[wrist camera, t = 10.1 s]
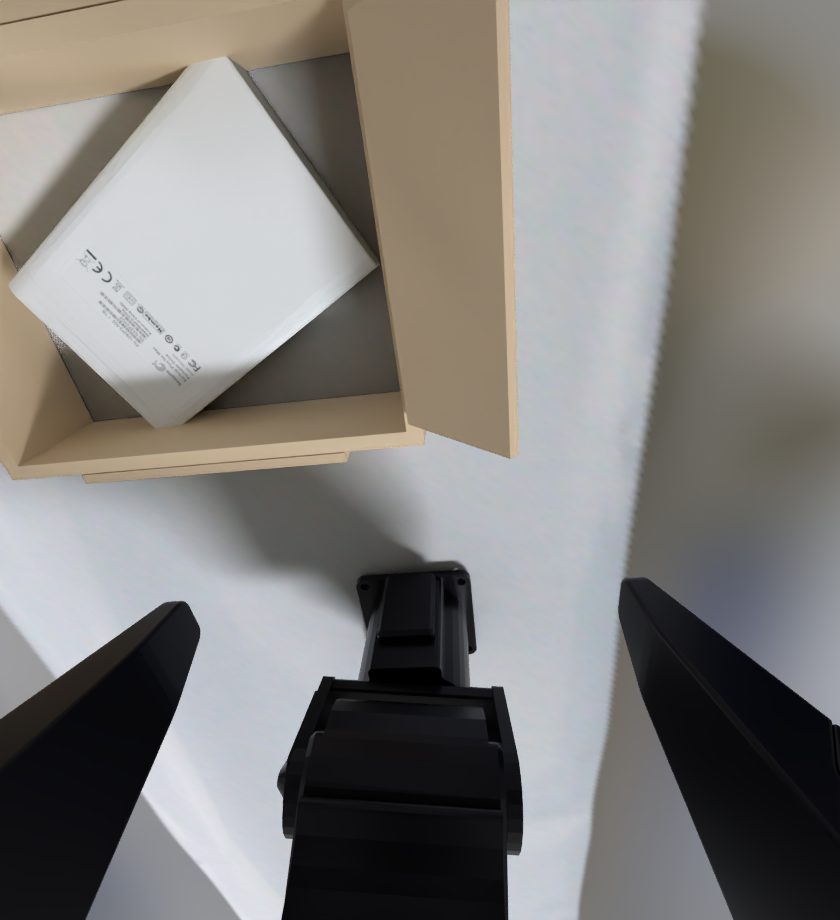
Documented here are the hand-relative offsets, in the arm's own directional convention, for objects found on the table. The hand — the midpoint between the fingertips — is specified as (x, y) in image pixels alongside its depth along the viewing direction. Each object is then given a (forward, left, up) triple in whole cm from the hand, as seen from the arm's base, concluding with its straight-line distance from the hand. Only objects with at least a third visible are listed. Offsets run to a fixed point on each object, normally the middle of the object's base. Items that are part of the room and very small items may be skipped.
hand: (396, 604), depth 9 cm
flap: (+6, -1, -6) cm, 9 cm away
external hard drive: (+6, +9, -13) cm, 17 cm away
